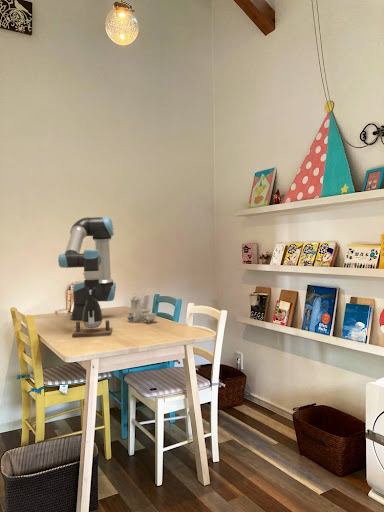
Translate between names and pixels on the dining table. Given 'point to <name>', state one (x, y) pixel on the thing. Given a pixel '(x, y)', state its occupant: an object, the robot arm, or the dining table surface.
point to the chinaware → (139, 312)
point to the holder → (92, 331)
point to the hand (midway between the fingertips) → (92, 321)
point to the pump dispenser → (97, 315)
